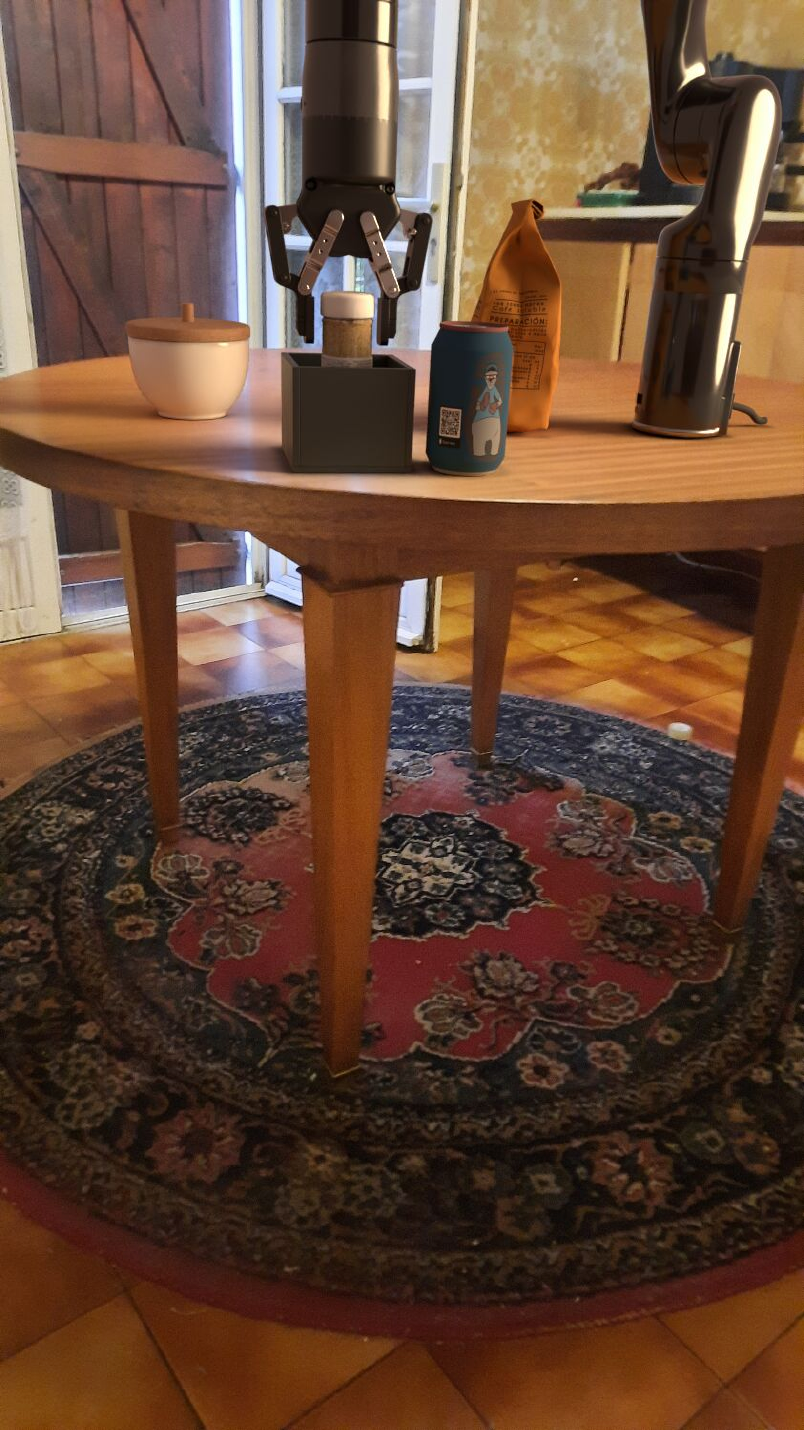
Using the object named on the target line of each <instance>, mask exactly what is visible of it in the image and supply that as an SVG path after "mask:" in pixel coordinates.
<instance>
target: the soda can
mask: <svg viewBox="0 0 804 1430" xmlns="http://www.w3.org/2000/svg"><path fill="white" fill-rule="evenodd" d="M438 325H439V329H438V331H437V332H436V335H435V337H434V338H433V341H432V342H431V347H430V363H429V382H428V384H429V385H428V400H427V418H426V419H427V420H426V437H425V438H426V439H425V455H426V457H427V460H428V462H429V463H430V465H431V468H432V469H433V470H434V471H436V472H438V473H442V474H446V475H451V476H458V477H459V476H460V477H484V476H489V475H493V474H495V473H496V472H497V470H498V468H500V466H501V464H502V463H503V461H504V459H505V456H506V444H507V433H508V432H507V422H508V410H509V398H510V386H511V374H512V362H513V350H514V349H513V346H512V343H511V340H510V338H509V335H508V332H507V331H508V326H507V325H503V324H497V323H487V322H472V321H471V320H468V321H467V320H446V321H445V320H444V321H440V322H439V324H438Z"/></svg>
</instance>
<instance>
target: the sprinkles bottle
mask: <svg viewBox="0 0 804 1430" xmlns="http://www.w3.org/2000/svg"><path fill="white" fill-rule="evenodd" d="M375 303H376V302H375V295H374V294H373V293H370V292H365V291H358V290H357V291H356V290H330V291H323V292H321V293H320V302H319V304H320V306H319V307H320V308H319V310H320V311H319V312H320V313H319V314H320V316H322V318H321V322H322V324H321V326H322V331H321V332H322V333H321V335H322V336H321V337H322V338H321V339H322V346H321V353H322V358H321V367H359V368H372V354H373V353H372V352H373V343H372V342H373V323H374V319H373V318H375V307H376V305H375Z"/></svg>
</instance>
